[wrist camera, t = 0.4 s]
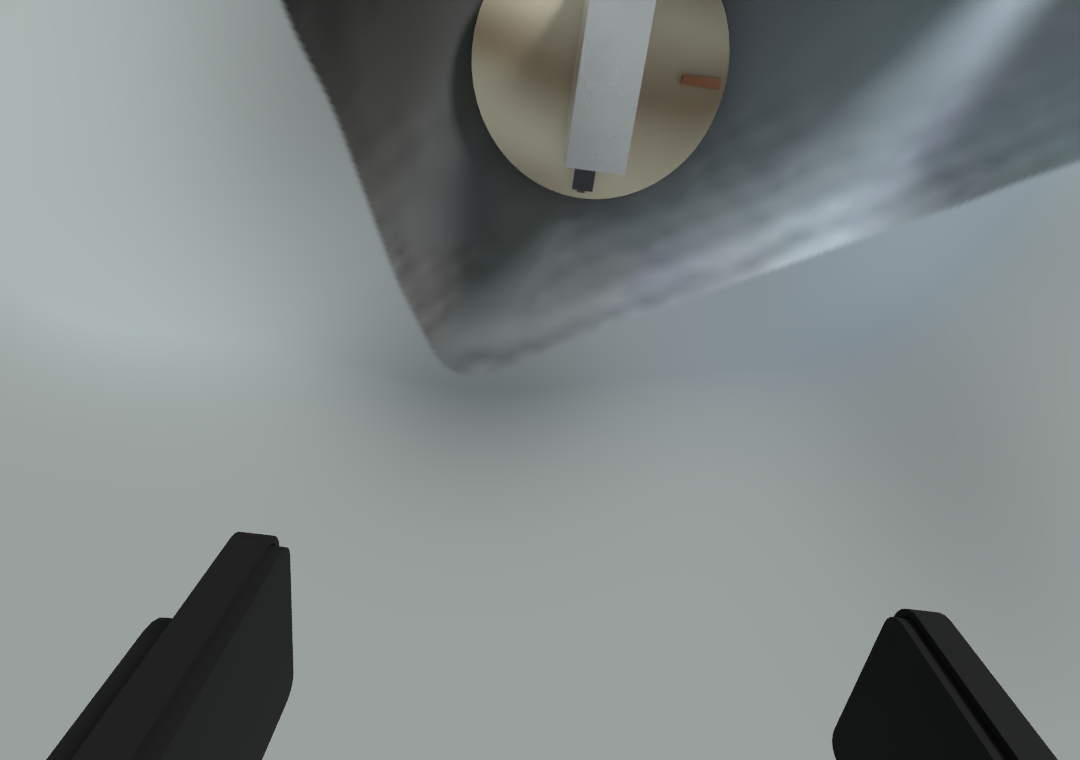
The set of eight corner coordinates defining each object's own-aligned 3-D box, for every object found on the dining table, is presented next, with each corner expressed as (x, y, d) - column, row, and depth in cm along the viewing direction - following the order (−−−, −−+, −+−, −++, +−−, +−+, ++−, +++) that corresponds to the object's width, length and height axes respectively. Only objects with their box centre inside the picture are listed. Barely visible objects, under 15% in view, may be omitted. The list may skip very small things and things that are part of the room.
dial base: (487, -101, 28) (483, -112, 27) (750, -58, 29) (761, -67, 27) (464, 178, 33) (460, 182, 32) (689, 209, 34) (696, 215, 32)
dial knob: (589, -40, 28) (599, -73, 22) (643, -31, 28) (667, -62, 22) (557, 186, 32) (559, 205, 26) (605, 192, 32) (617, 213, 26)
